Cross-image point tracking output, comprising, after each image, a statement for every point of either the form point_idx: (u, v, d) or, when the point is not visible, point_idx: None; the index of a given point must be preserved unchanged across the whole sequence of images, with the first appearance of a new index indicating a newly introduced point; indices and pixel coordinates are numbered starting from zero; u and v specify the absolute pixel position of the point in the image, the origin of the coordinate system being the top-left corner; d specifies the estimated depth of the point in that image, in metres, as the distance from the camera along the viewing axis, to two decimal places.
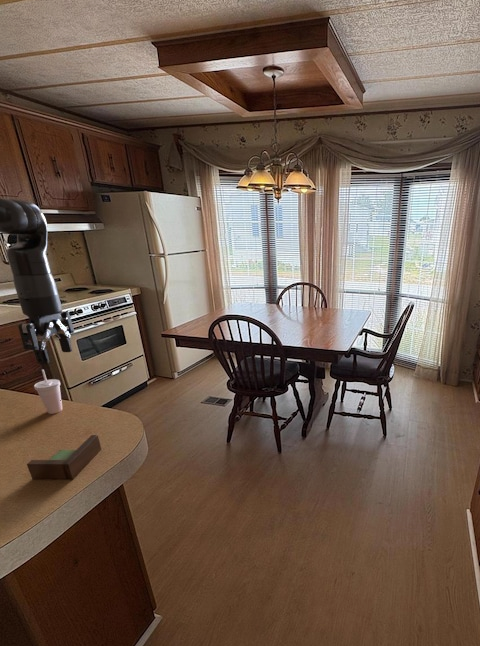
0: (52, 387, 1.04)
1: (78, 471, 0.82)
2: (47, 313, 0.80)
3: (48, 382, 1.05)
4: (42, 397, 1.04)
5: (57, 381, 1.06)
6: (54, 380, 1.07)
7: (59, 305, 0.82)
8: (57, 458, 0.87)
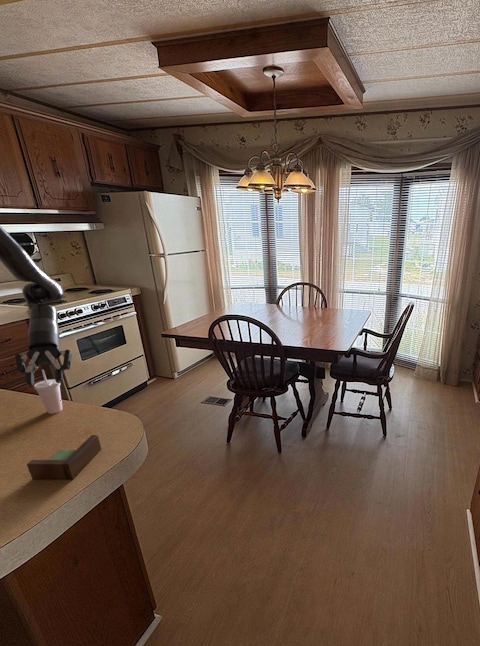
0: (52, 387, 1.04)
1: (78, 471, 0.82)
2: None
3: (48, 382, 1.05)
4: (42, 397, 1.04)
5: None
6: (54, 380, 1.07)
7: None
8: (57, 458, 0.87)
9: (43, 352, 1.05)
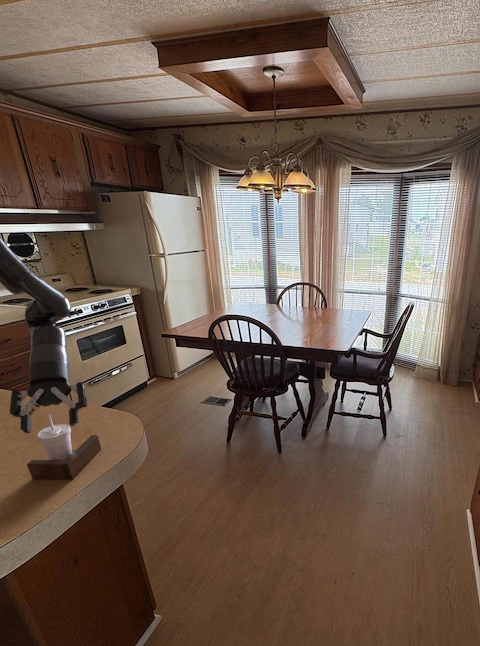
0: (61, 437, 0.80)
1: (78, 471, 0.82)
2: None
3: (55, 429, 0.81)
4: (48, 449, 0.80)
5: (67, 427, 0.83)
6: (63, 426, 0.83)
7: None
8: None
9: (48, 389, 0.81)
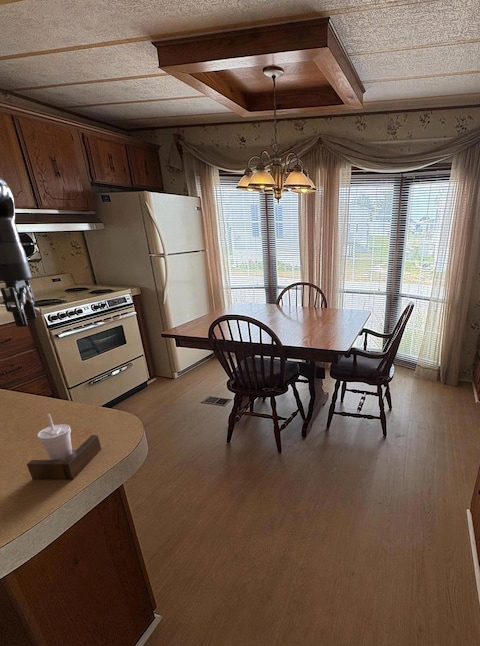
0: (61, 437, 0.80)
1: (78, 471, 0.82)
2: (23, 278, 0.88)
3: (55, 429, 0.81)
4: (48, 449, 0.80)
5: (67, 427, 0.83)
6: (63, 426, 0.83)
7: (30, 271, 0.90)
8: None
9: None
